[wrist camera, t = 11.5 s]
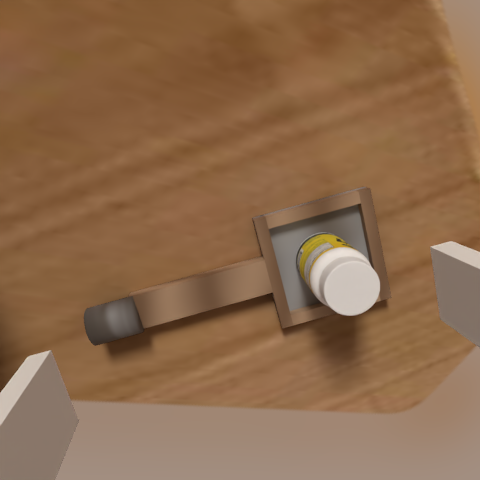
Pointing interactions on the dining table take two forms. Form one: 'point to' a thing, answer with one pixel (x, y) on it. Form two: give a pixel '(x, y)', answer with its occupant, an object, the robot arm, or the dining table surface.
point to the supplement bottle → (337, 274)
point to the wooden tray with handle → (253, 271)
